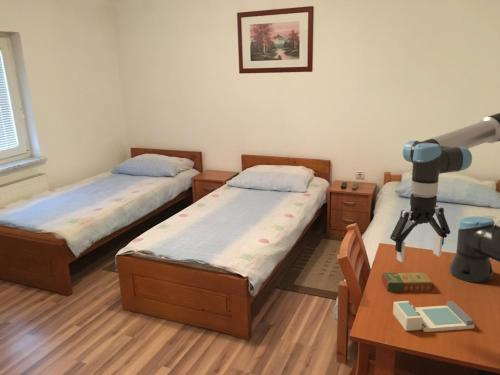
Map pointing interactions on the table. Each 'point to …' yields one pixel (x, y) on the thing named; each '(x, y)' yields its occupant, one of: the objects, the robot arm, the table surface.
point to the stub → (407, 315)
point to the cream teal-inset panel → (444, 318)
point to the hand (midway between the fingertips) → (418, 257)
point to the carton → (406, 281)
